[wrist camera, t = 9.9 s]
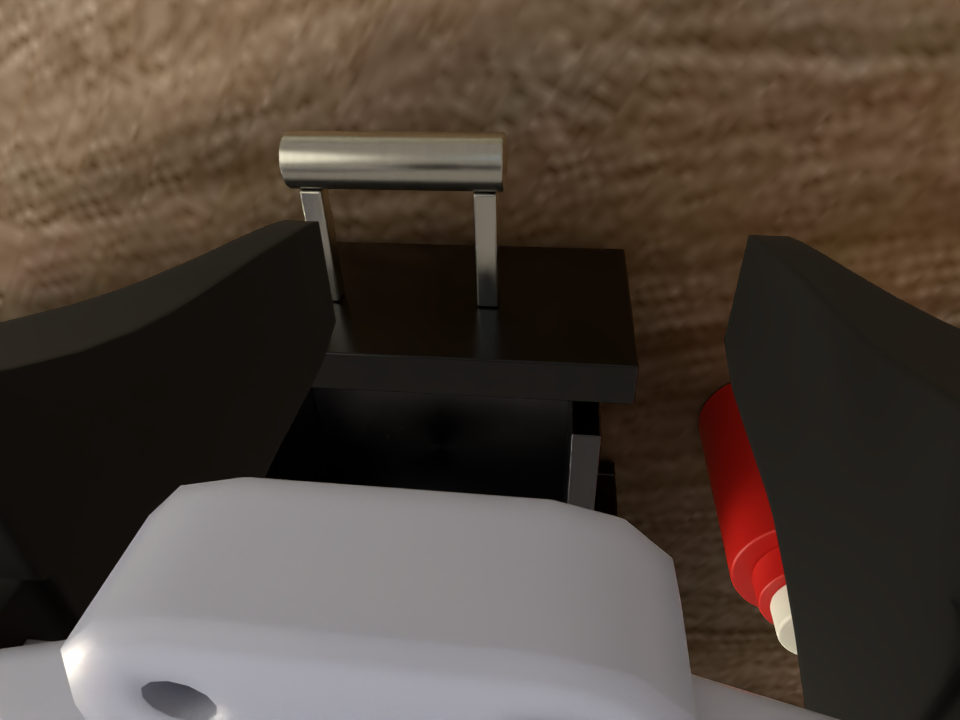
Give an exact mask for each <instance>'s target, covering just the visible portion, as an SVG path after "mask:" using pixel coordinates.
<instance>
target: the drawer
mask: <svg viewBox="0 0 960 720" xmlns="http://www.w3.org/2000/svg"><path fill="white" fill-rule="evenodd" d="M507 158H508V153H507V136H506V133H504V132H397V131H286V132H285V133H284V134H283V135H282V137H281V140H280V144H279V166H280V171H281V175H282V178H283V180H284V182H285V184H286V185H287V186H288V187H290V188H299V189H301V190H300V198H301V203H302V208H303V213H304V218H305V221H319V225H320V231H321V237H322V243H323V248H324V254H325V260H326V266H327V272H328V277H329V283H330V289H331V295H332V301H333V306H334V312H335V318H336V323H335V327H334V330H333V333H332V336H331V340H330V343H329V346H328V349H327V352H326V355H325V358H324V360H323V363H322V366H321V368H320V370H319V372H318V374H317V376H316V378H315V380H314V382H313V384H312V386H311V388H310V390H309V392H308V394H307V396H306V398H305V400H304V401H303V403H302V405H301V407H300V409H299V411H298V413H297V415H296V417H295V419H294V421H293V422H292V424H291V426H290V428H289V430H288V432H287V434H286V436H285V438H284V440H283V442H282V443H281V445H280V447H279V449H278V451H277V453H276V455H275V457H274V459H273V461H272V463H271V465H270V467H269V470H268V472H267V474H266V476H265V478H269V479H282V480H295V481H309V482H322V483H336V484H349V485H363V486H376V487H390V488H403V489H416V490H430V491H443V492H457V493H470V494H484V495H497V496H511V497H524V498H537V499H551V500H556V501H559V502H563V503H567V504H571V505H575V506H579V507H582V508H586V509H590V510H594V506H595V496H596V487H597V477H598V467H599V457H600V447H601V438H602V435H601V410H600V402H603V403H622V404H633V403H634V400H635V393H636V385H637V378H638V371H639V364H638V356H637V348H636V339H635V331H634V323H633V315H632V307H631V298H630V290H629V282H628V274H627V266H626V257H625V251H624V250H623V249H591V248H552V247H513V246H499V193H498V192H503V191H505V188H506V180H507ZM328 189H360V190H420V191H474V194H473V213H474V239H475V246H474V245H435V244H396V243H357V242H337V240H336V235H335V229H334V223H333V217H332V211H331V205H330V199H329V193H328Z"/></svg>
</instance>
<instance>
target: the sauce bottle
mask: <svg viewBox="0 0 960 720" xmlns="http://www.w3.org/2000/svg"><path fill="white" fill-rule="evenodd" d="M698 427H699V434H700V438H701V443H702V447H703V452H704V457H705V461H706V466H707V471H708V475H709V480H710V485H711V489H712V494H713V499H714V503H715V508H716V513H717V517H718V522H719V527H720V531H721V536H722V541H723V545H724V550H725V555H726V559H727V564H728V568H729V573H730V578H731V581H732V584H733V586H734V588H735V589H736V591H737V592H738V593H739V594H740V595H741V596H742V597H743V598H744V599H745V600H746V601H748V602H749V603H751V604H753V605H755V606H757V607H759V610H760V612H761V613H762V615H763V616H764V617H765V618H766V619H767V620H768V621H769V622H770V623H772V624H774V626H775V630H776V634H777V637H778V640H779V641H780V643H781V644H782V645H783V646H784V647H785V648H786V649H787V650H789V651H790V652H792V653H794V654H797V647H796V641H795V634H794V627H793V622H792V616H791V610H790V604H789V599H788V593H787V587H786V581H785V576H784V570H783V565H782V560H781V555H780V550H779V545H778V540H777V535H776V530H775V525H774V520H773V516H772V512H771V508H770V505H769V501H768V497H767V494H766V491H765V488H764V485H763V482H762V479H761V476H760V473H759V470H758V467H757V464H756V461H755V458H754V455H753V452H752V449H751V446H750V443H749V440H748V437H747V434H746V431H745V428H744V425H743V422H742V419H741V416H740V413H739V409H738V406H737V403H736V400H735V397H734V394H733V390H732V387H731V383H729V384H727V385H726V386H724V387H722V388H721V389H719V390H718V391H717V392H715V393H714V394H713V395H712V396H711V397H710V398H709V399H708V401H707V402H706V403H705V405H704V407H703V408H702V411H701V413H700V416H699V422H698ZM797 655H798V654H797Z"/></svg>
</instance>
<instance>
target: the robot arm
mask: <svg viewBox="0 0 960 720" xmlns="http://www.w3.org/2000/svg"><path fill="white" fill-rule="evenodd" d="M335 323H336V318H335V312H334V306H333V301H332V295H331V289H330V283H329V277H328V272H327V266H326V260H325V254H324V248H323V243H322V237H321V231H320V225H319V221H292V220H284V221H280V222H277V223H274V224H271V225H268V226H265V227H263V228H260V229H258V230H256V231H253V232H251V233H249V234H247V235H244V236H242V237H240V238H238V239H236V240H234V241H231V242H229V243H227V244H225V245H223V246H221V247H218V248H216V249H214V250H212V251H210V252H208V253H206V254H203V255H201V256H199V257H197V258H195V259H192V260H190V261H188V262H185V263H183V264H181V265H178V266H176V267H174V268H171V269H169V270H167V271H164V272H162V273H159V274H157V275H155V276H152V277H150V278H148V279H145V280H143V281H140V282H138V283H135V284H132V285H130V286H127V287H124V288H121V289H119V290H116V291H113V292H110V293H107V294H104V295H101V296H98V297H95V298H91V299H88V300H85V301H82V302H79V303H75V304H72V305H69V306H65V307H61V308H57V309H53V310H49V311H45V312H41V313H37V314H33V315H29V316H25V317H22V318H18V319H14V320H10V321H6V322H1V323H0V720H960V329H958V328H956V327H954V326H952V325H950V324H948V323H945V322H943V321H941V320H939V319H937V318H935V317H933V316H931V315H929V314H927V313H925V312H924V311H922V310H920V309H918V308H916V307H914V306H912V305H910V304H908V303H906V302H904V301H902V300H901V299H899V298H897V297H895V296H893V295H892V294H890V293H888V292H886V291H884V290H883V289H881V288H879V287H877V286H876V285H874V284H872V283H871V282H869V281H867V280H866V279H864V278H862V277H860V276H859V275H857V274H855V273H854V272H852V271H850V270H849V269H847V268H845V267H844V266H842V265H841V264H839V263H837V262H836V261H834V260H832V259H831V258H829V257H827V256H826V255H824V254H822V253H821V252H819V251H817V250H815V249H814V248H812V247H810V246H808V245H806V244H804V243H803V242H801V241H798V240H796V239H794V238H791V237H789V236H761V235H749V236H748V241H747V245H746V249H745V254H744V258H743V262H742V266H741V271H740V275H739V279H738V283H737V288H736V292H735V296H734V301H733V305H732V309H731V313H730V318H729V322H728V326H727V330H726V335H725V339H724V342H725V349H726V356H727V363H728V369H729V375H730V381H731V387H732V390H733V394H734V397H735V400H736V403H737V406H738V409H739V413H740V416H741V419H742V422H743V425H744V428H745V431H746V434H747V437H748V440H749V443H750V446H751V449H752V452H753V455H754V458H755V461H756V464H757V467H758V470H759V473H760V476H761V479H762V482H763V485H764V488H765V491H766V494H767V497H768V501H769V505H770V508H771V512H772V516H773V520H774V525H775V530H776V535H777V540H778V545H779V550H780V555H781V560H782V565H783V570H784V576H785V581H786V587H787V593H788V599H789V604H790V610H791V616H792V622H793V627H794V634H795V641H796V647H797V654H798V661H799V668H800V675H801V682H802V688H803V695H804V703H805V709H804V708H801V707H797V706H794V705H791V704H788V703H784V702H781V701H778V700H775V699H771V698H768V697H765V696H762V695H758V694H755V693H752V692H749V691H745V690H742V689H739V688H736V687H732V686H729V685H726V684H723V683H719V682H716V681H713V680H710V679H706V678H703V677H700V676H697V675H693V674H691V669H690V662H689V655H688V648H687V641H686V634H685V626H684V619H683V612H682V605H681V599H680V594H679V589H678V584H677V578H676V573H675V568H674V563H673V558H672V557H670V556H669V555H668V554H667V553H665V552H664V551H663V550H662V549H661V548H659V547H658V546H657V545H656V544H654V543H653V542H652V541H651V540H650V539H648V538H647V537H646V536H645V535H644V534H642V533H641V532H640V531H639V530H637V529H636V528H635V527H634V526H633V525H631V524H630V523H629V522H628V521H627V520H625V519H622V518H619V517H617V516H613V515H609V514H605V513H602V512H598V511H594V510H590V509H586V508H582V507H579V506H575V505H571V504H567V503H563V502H559V501H556V500H551V499H537V498H524V497H511V496H497V495H484V494H470V493H457V492H443V491H430V490H416V489H403V488H390V487H376V486H363V485H349V484H336V483H322V482H309V481H295V480H282V479H269V478H265V476H266V474H267V472H268V470H269V467H270V465H271V463H272V461H273V459H274V457H275V455H276V453H277V451H278V449H279V447H280V445H281V443H282V442H283V440H284V438H285V436H286V434H287V432H288V430H289V428H290V426H291V424H292V422H293V421H294V419H295V417H296V415H297V413H298V411H299V409H300V407H301V405H302V403H303V401H304V400H305V398H306V396H307V394H308V392H309V390H310V388H311V386H312V384H313V382H314V380H315V378H316V376H317V374H318V372H319V370H320V368H321V366H322V363H323V360H324V358H325V355H326V352H327V349H328V346H329V343H330V340H331V336H332V333H333V330H334V327H335Z"/></svg>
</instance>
